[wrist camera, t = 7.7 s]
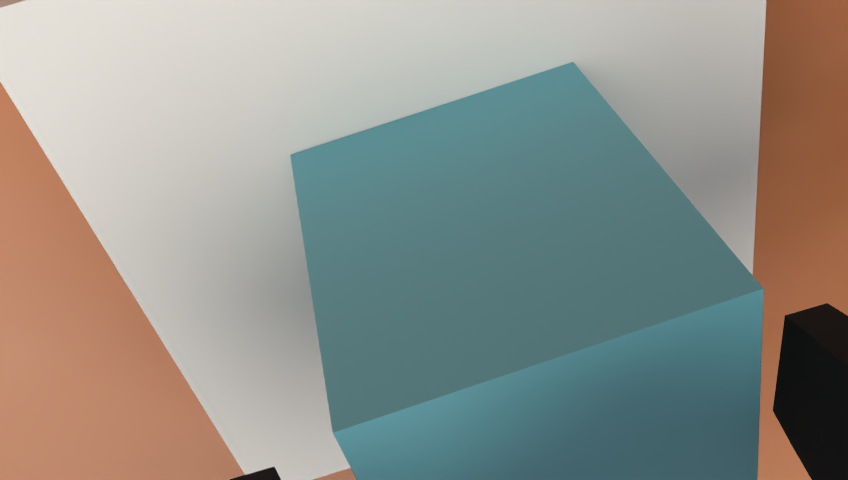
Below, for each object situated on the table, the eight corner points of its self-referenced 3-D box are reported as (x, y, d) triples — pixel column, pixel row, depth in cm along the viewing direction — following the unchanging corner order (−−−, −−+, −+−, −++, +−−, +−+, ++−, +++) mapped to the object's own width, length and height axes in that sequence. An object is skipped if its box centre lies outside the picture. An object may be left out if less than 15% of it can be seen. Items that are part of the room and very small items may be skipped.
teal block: (373, 351, 17) (436, 633, 12) (290, 155, 14) (332, 432, 9) (603, 274, 17) (755, 525, 12) (573, 61, 14) (764, 288, 9)
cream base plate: (253, 400, 21) (258, 496, 19) (5, -49, 14) (-39, 18, 11) (690, 263, 21) (749, 342, 19) (682, -250, 14) (777, -224, 12)
